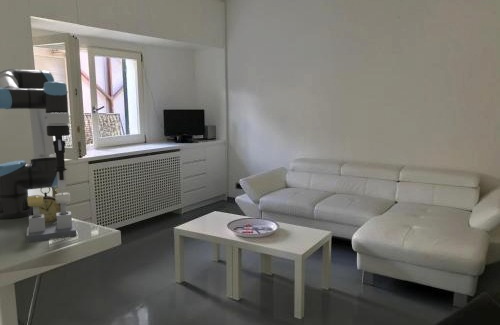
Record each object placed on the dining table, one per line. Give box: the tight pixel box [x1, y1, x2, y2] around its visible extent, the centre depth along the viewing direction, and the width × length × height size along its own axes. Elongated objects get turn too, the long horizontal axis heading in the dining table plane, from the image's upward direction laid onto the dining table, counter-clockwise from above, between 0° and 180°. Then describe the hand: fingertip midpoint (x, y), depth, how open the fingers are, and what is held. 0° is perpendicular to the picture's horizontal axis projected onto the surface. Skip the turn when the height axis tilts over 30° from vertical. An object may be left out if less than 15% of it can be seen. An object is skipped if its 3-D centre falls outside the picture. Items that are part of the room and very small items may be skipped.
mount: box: [25, 211, 77, 243], centre depth 147 cm, size 14×16×7 cm
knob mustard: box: [27, 194, 44, 218], centre depth 144 cm, size 5×5×8 cm
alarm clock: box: [31, 186, 61, 224], centre depth 157 cm, size 11×5×16 cm, turn 119°
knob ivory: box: [54, 192, 71, 215], centre depth 148 cm, size 5×5×8 cm
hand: (62, 188), depth 147 cm, fingers closed
